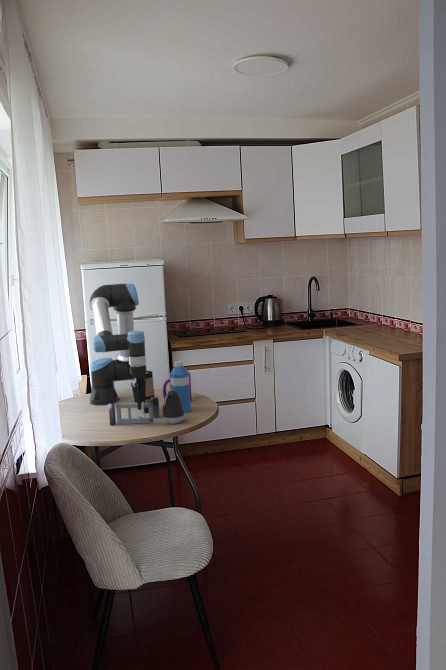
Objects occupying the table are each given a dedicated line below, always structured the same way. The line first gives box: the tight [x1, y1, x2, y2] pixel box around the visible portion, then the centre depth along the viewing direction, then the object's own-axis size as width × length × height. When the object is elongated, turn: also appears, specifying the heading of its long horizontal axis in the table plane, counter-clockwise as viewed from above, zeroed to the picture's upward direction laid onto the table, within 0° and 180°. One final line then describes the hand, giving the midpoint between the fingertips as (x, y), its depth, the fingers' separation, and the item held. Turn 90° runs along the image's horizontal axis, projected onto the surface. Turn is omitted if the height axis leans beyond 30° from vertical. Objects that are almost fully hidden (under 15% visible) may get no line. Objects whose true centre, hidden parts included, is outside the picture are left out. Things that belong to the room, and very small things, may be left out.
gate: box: [115, 403, 155, 424], centre depth 262 cm, size 2×17×9 cm, turn 86°
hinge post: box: [107, 403, 117, 426], centre depth 263 cm, size 3×3×10 cm
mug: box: [162, 372, 193, 402], centre depth 297 cm, size 9×16×15 cm, turn 118°
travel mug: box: [143, 370, 155, 414], centre depth 282 cm, size 8×8×20 cm
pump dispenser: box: [162, 389, 185, 425], centre depth 261 cm, size 10×10×15 cm
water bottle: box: [169, 360, 192, 415], centre depth 278 cm, size 9×9×25 cm
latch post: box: [146, 396, 160, 419], centre depth 272 cm, size 4×5×10 cm, turn 116°
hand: (141, 415), depth 259 cm, fingers closed
